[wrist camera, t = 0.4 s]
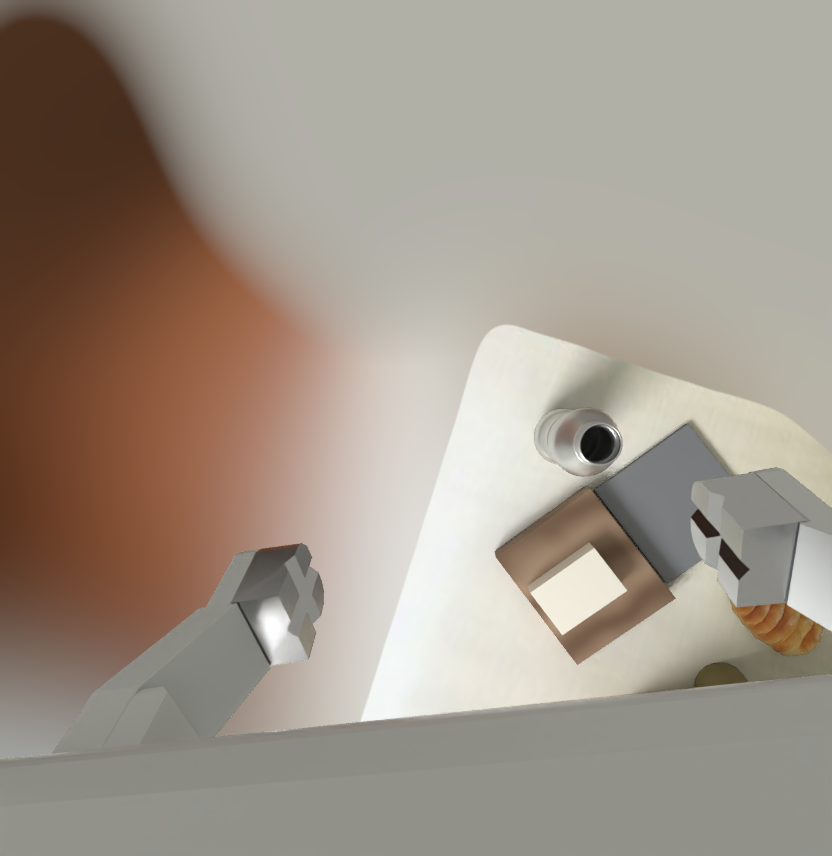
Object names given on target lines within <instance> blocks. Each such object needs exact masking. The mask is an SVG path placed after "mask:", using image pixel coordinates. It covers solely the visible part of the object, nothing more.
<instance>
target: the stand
mask: <svg viewBox="0 0 832 856" xmlns="http://www.w3.org/2000/svg"><path fill="white" fill-rule="evenodd" d="M587 543H590V544H591V545H592V546H593V547H594V548H595V549H596V551H597V552H598V553H599V555H600V556H601V557H602V558H603V560H604V561H605V562H606V564H607V565H608V566H609V568H610V569H611V570H612V571H613V573H614V574H615V575H616V577H617V578H618V579H619V581H620V582H621V583H622V584H623V586H624V587H625V588H626V590H627V591H626V592H625V593H623V594H622V595H620V596H619V597H617V598H616V599H615V600H613V601H612V602H610V603H609V604H607V605H606V606H604V607H603V608H601V609H600V610H599V611H597V612H596V613H594V614H593V615H591V616H590V617H588V618H587V619H585V620H584V621H583V622H581V623H580V624H578V625H577V626H575V627H574V628H572V629H571V630H569V631H568V632H566V633H565V634H564V635H562V634H561V633H560V632H559V630H558V629H557V628H556V626H555V625H554V624H553V622H552V621H551V620H550V618H549V617H548V616H547V614H546V613H545V612H544V610H543V609H542V608H541V607H540V605H539V604H538V603H537V601H536V600H535V599H534V597H533V596H532V595H531V593H530V591H529V588H528V585H529V584H531V583H532V582H534V581H535V580H536V579H538V578H539V577H541V576H542V575H543V574H545V573H546V572H548V571H549V570H551V569H552V568H553V567H555V566H556V565H558V564H559V563H561V562H562V561H563V560H565V559H566V558H568V557H569V556H570V555H572V554H573V553H575V552H576V551H578V550H579V549H580V548H582V547H583V546H585V545H586V544H587ZM495 555H496V558H497V559H498V561H499V562H500V563H501V565H502V566H503V567H504V568H505V570H506V571H507V572H508V574H509V575H510V576H511V578H512V579H513V580H514V582H515V583H516V584H517V586H518V587H519V588H520V590H521V591H522V592H523V594H524V595H525V596H526V598H527V599H528V600H529V602H530V603H531V604H532V606H533V607H534V608H535V609H536V611H537V612H538V613H539V615H540V616H541V617H542V619H543V620H544V621H545V623H546V624H547V625H548V627H549V628H550V629H551V631H552V632H553V633H554V635H555V636H556V637H557V639H558V640H559V641H560V643H561V644H562V645H563V647H564V648H565V649H566V650H567V652H568V653H569V654H570V656H571V657H572V658H573V660H574V661H575V662H576V664H577V665H578V664H579V663H581V662H582V661H584V660H585V659H587V658H588V657H590V656H591V655H593V654H594V653H596V652H597V651H599V650H600V649H602V648H603V647H605V646H606V645H607V644H609V643H610V642H612V641H613V640H615V639H616V638H618V637H619V636H621V635H622V634H624V633H625V632H627V631H628V630H630V629H631V628H633V627H634V626H636V625H637V624H639V623H640V622H641V621H643V620H644V619H646V618H647V617H649V616H650V615H652V614H653V613H655V612H656V611H658V610H659V609H661V608H662V607H664V606H665V605H667V604H668V603H670V602H671V601H673V600H674V599H675V597H674V596H673V594H672V593H671V592H670V590H669V589H668V588H667V587H666V585H665V584H664V583H663V581H662V580H661V579H660V578H659V576H658V575H657V574H656V572H655V571H654V570H653V569H652V567H651V566H650V565H649V563H648V562H647V561H646V560H645V558H644V557H643V556H642V554H641V553H640V552H639V551H638V549H637V548H636V547H635V545H634V544H633V543H632V542H631V540H630V539H629V538H628V536H627V535H626V534H625V533H624V531H623V530H622V529H621V527H620V526H619V525H618V524H617V522H616V521H615V520H614V518H613V517H612V516H611V515H610V513H609V512H608V511H607V509H606V508H605V507H604V506H603V504H602V503H601V502H600V500H599V499H598V498H597V496H596V495H595V494H594V493H593V491H592V490H591V489H590V488H588V487H586V486H585V487H584V488H582V489H581V490H579V491H578V492H577V493H575V494H574V495H572V496H571V497H570V498H568V499H567V500H565V501H564V502H563V503H561V504H560V505H559V506H557V507H556V508H554V509H553V510H552V511H550V512H549V513H547V514H546V515H545V516H543V517H542V518H540V519H539V520H538V521H536V522H535V523H534V524H532V525H531V526H529V527H528V528H527V529H525V530H524V531H522V532H521V533H520V534H518V535H517V536H515V537H514V538H513V539H511V540H510V541H509V542H507V543H506V544H504V545H503V546H502V547H500V548H499V549H497V550H496V551H495Z"/></svg>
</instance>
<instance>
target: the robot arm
mask: <svg viewBox="0 0 832 856" xmlns="http://www.w3.org/2000/svg"><path fill="white" fill-rule="evenodd" d="M691 500H692V501H693V502H694V503H695V505H696V506H697V507H698V509H697V510H696V511H695V513H694V514H693V515H692V516H691V534H692V538H693V542H694V545H695V547H696V549H697V551H698V554H699V555H700V557H701V558H702V560H703V561H704V563H705V564H707V565H709V566H711V567H713V568H715V569H717V570H718V575H717V581H718V582H719V584H720V585H721V587H722V588H723V589H724V591H725V592H726V594H727V595H728V596H729V598H730V599H731V600H732V602H733V603H734V605H735V606H736V607H746V606H757V605H767V604H777V603H787V605H788V606H790V607H792V608H793V609H795V610H797V611H798V612H800V613H802V614H803V615H805V616H806V617H808V618H810V619H811V620H813V621H815V622H816V623H818V624H820V625H821V626H823V627H825V628H826V629H828V630H830V631H831V632H832V508H831V507H830V506H828V505H827V504H826V503H825V502H823V501H822V500H821V499H820V498H819V497H817V496H816V495H815V494H814V493H812V492H811V491H810V490H809V489H807V488H806V487H805V486H804V485H802V484H801V483H800V482H799V481H798V480H796V479H795V478H794V477H793V476H791V475H790V474H789V473H788V472H786V471H785V470H784V469H781V468H777V467H775V468H770V469H764V470H759V471H754V472H749V473H748V474H741V475H735V476H729V477H723V478H716V479H710V480H704V481H698V482H694V484H693V487H692V495H691ZM311 559H312V556H311V554H310V552H309V550H308V547H307V546H306V545H304V544H302V543H300V544H293V545H286V546H278V547H270V548H263V549H257V550H250V551H244V552H239V553H238V554H236V555H235V556H234V558H233V560H232V561H231V563H230V565H229V567H228V569H227V570H226V572H225V574H224V576H223V578H222V580H221V581H220V583H219V585H218V587H217V589H216V590H215V592H214V594H213V596H212V598H211V599H210V601H209V603H208V605H207V607H205V608H200V609H198V610H197V611H196V612H194V613H193V614H192V615H190V616H189V617H188V618H187V619H185V620H184V621H183V622H182V623H180V624H179V625H178V626H177V627H175V628H174V629H173V630H172V631H171V632H169V633H168V634H167V635H165V636H164V637H163V638H162V639H160V640H159V641H158V642H157V643H155V644H154V645H153V646H151V647H150V648H149V649H148V650H146V651H145V652H144V653H143V654H141V655H140V656H139V657H138V658H136V659H135V660H134V661H133V662H131V663H130V664H129V665H128V666H126V667H125V668H124V669H123V670H121V671H120V672H119V673H118V674H116V675H115V676H114V677H112V678H111V679H110V680H109V681H108V682H106V683H105V684H104V685H102V686H101V687H100V688H99V689H98V690H96V691H95V692H94V693H93V694H92V695H91V697H90V698H89V700H88V701H87V703H86V704H85V705H84V707H83V708H82V710H81V712H80V713H79V714H78V716H77V717H76V719H75V720H74V722H73V723H72V725H71V726H70V728H69V729H68V731H67V732H66V733H65V735H64V736H63V738H62V739H61V741H60V742H59V744H58V745H57V747H56V748H55V750H54V751H53V753H52V754H44V755H34V756H25V757H15V758H6V759H0V856H832V674H824V675H814V676H804V677H794V678H785V679H775V680H765V681H755V682H746V683H736V684H726V685H716V686H707V687H697V688H687V689H677V690H668V691H658V692H648V693H638V694H629V695H619V696H609V697H599V698H589V699H580V700H570V701H560V702H550V703H541V704H531V705H521V706H511V707H502V708H492V709H482V710H472V711H463V712H453V713H443V714H433V715H424V716H414V717H404V718H395V719H385V720H375V721H366V722H357V723H346V724H337V725H327V726H318V727H308V728H298V729H289V730H278V731H269V732H259V733H250V734H240V735H230V736H220V737H215V736H216V735H217V734H218V732H219V731H220V730H221V729H222V727H223V726H224V725H225V724H226V722H227V721H228V720H229V719H230V718H231V716H232V715H233V714H234V713H235V711H236V710H237V709H238V708H239V706H240V705H241V704H242V703H243V702H244V700H245V699H246V698H247V696H248V695H249V694H250V693H251V691H252V690H253V689H254V688H255V687H256V685H257V684H258V683H259V682H260V680H261V679H262V678H263V677H264V676H265V674H266V673H267V672H268V671H269V669H270V668H271V667H270V666H271V665H278V664H284V663H291V662H297V661H304V660H309V657H310V654H311V650H312V646H313V643H314V639H315V635H316V631H315V629H314V626H313V623H314V622H315V621H316V620H317V619H318V618H319V617H320V616H321V613H322V609H323V605H324V590H323V585H322V580H321V578H320V575H319V573H318V572H317V571H316V570H314V569H313V568H311V567H310V566H309V565H310V561H311Z"/></svg>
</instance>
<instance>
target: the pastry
mask: <svg viewBox="0 0 832 856" xmlns="http://www.w3.org/2000/svg"><path fill="white" fill-rule="evenodd" d="M731 604H732V610H733V611H734V612H735V614H736V615H737V616H738V617H739V618H740V620H741V622H742V623H743V624H744V625H745V626H746V627H747V628H748V629H749V630H750V631H751V633H752V634H753V636H754V637H755V638H756V639H759V640H762V641H763V642H765V643H766V644H768V645H770V646H771V647H772V648H773V649H774V650H776V651H777V652H780V653H781V654H782V655H785V656H791V655H795V656H797V655H799V654H801V655H804V654H807V653H809V652H810V651H811V650H812V649H814V647H815V646H816V645H817V644H818V643H819V641H820V639H821V634H822V631H823V626H821V625H820V624H818V623H816V622H815V621H813V620H811V619H810V618H808V617H806V616H805V615H803V614H802V613H800V612H798V611H797V610H795V609H793V608H792V607H790V606H788V605H787V603H777V604H767V605H757V606H746V607H736V606H735V605H734V603H733V602H732V600H731Z"/></svg>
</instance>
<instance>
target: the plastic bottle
mask: <svg viewBox="0 0 832 856" xmlns="http://www.w3.org/2000/svg"><path fill="white" fill-rule="evenodd" d="M534 443H535V446H536V449H537V451H538V452H539V454H540V455H541V456H542V457H543V458H544V459H546V460H547V461H549V462H551V463H554V464H558V465H559V466H560V467H561V468H562V469H563V470H565V471H567V472H568V473H570V474H573V475H576V476H592V475H596V474H598V473H601V472H602V471H604V470H605V469H607V468H608V467H609V466H610V465H611V464H612V463H613V461H615V460H616V459H617V458H618V456H619V455H620V453H621V450H622V437H621V435H620V433H619V430H618V428H617V425H616V424H615V422H614V421H613V419H612V418H611V417H610V416H609V415H607V414H606V413H604V412H603V411H601V410H598V409H595V408H579V409H575V410H570V409H556V410H553V411H550V412H548V413H547V414H546V415H544V416H543V417H542V418H541V419H540V421H539V422H538V424H537V426H536V428H535V432H534Z"/></svg>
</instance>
